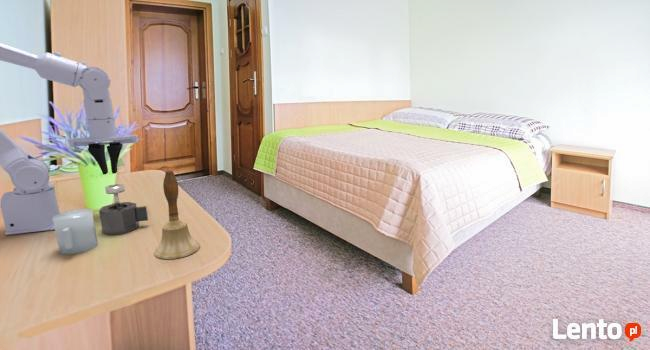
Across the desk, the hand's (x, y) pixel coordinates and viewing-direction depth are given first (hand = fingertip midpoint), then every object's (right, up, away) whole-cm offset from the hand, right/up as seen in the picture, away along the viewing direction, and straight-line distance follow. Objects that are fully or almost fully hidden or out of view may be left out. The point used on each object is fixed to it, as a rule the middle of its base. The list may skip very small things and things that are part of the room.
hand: (110, 173), depth 88 cm
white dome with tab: (+5, -15, -18) cm, 24 cm away
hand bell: (+25, -15, -19) cm, 35 cm away
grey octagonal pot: (+9, -13, -8) cm, 17 cm away
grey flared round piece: (+8, -9, -9) cm, 15 cm away
